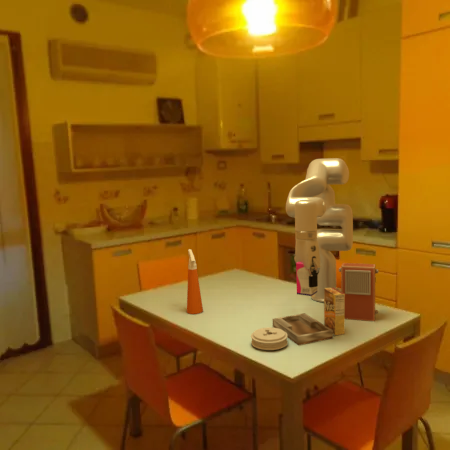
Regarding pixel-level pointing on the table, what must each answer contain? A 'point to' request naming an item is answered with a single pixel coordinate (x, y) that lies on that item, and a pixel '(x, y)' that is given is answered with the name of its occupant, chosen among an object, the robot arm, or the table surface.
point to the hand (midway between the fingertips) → (306, 283)
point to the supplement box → (304, 280)
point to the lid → (269, 338)
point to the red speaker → (359, 290)
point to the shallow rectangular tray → (303, 328)
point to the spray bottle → (193, 287)
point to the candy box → (334, 310)
